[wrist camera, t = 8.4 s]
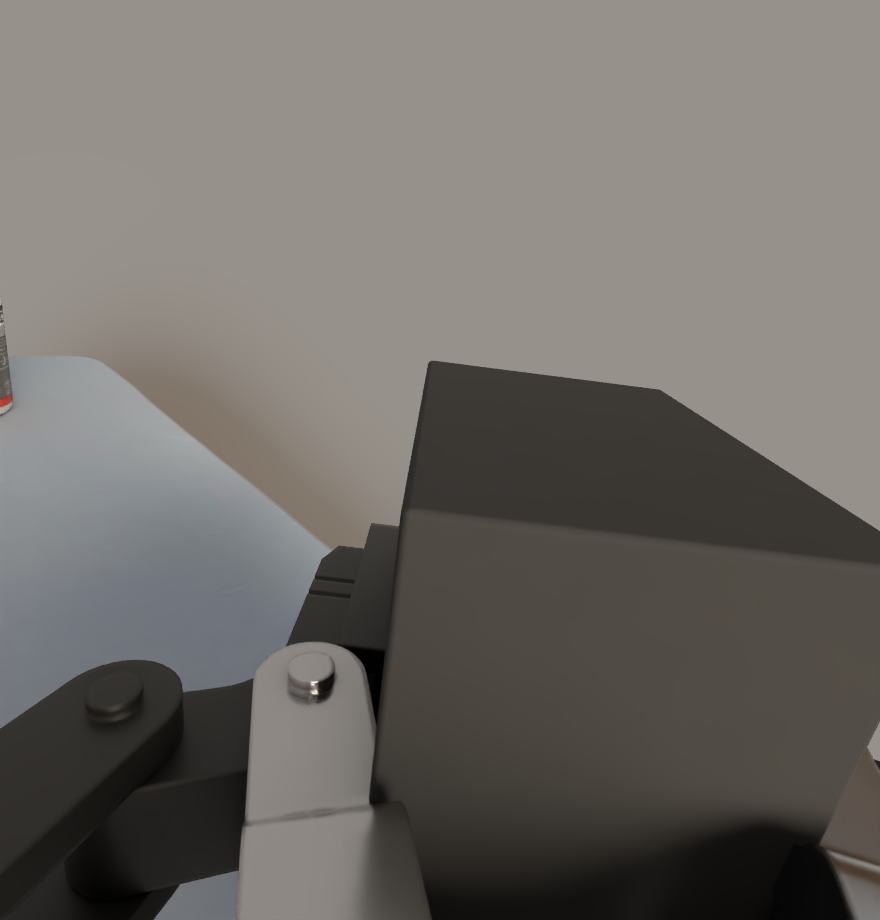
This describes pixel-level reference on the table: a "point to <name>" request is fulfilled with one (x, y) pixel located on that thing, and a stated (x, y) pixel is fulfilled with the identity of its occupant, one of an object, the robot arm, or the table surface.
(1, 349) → the pill bottle
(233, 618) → the table surface
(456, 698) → the tall dark rectangular block
